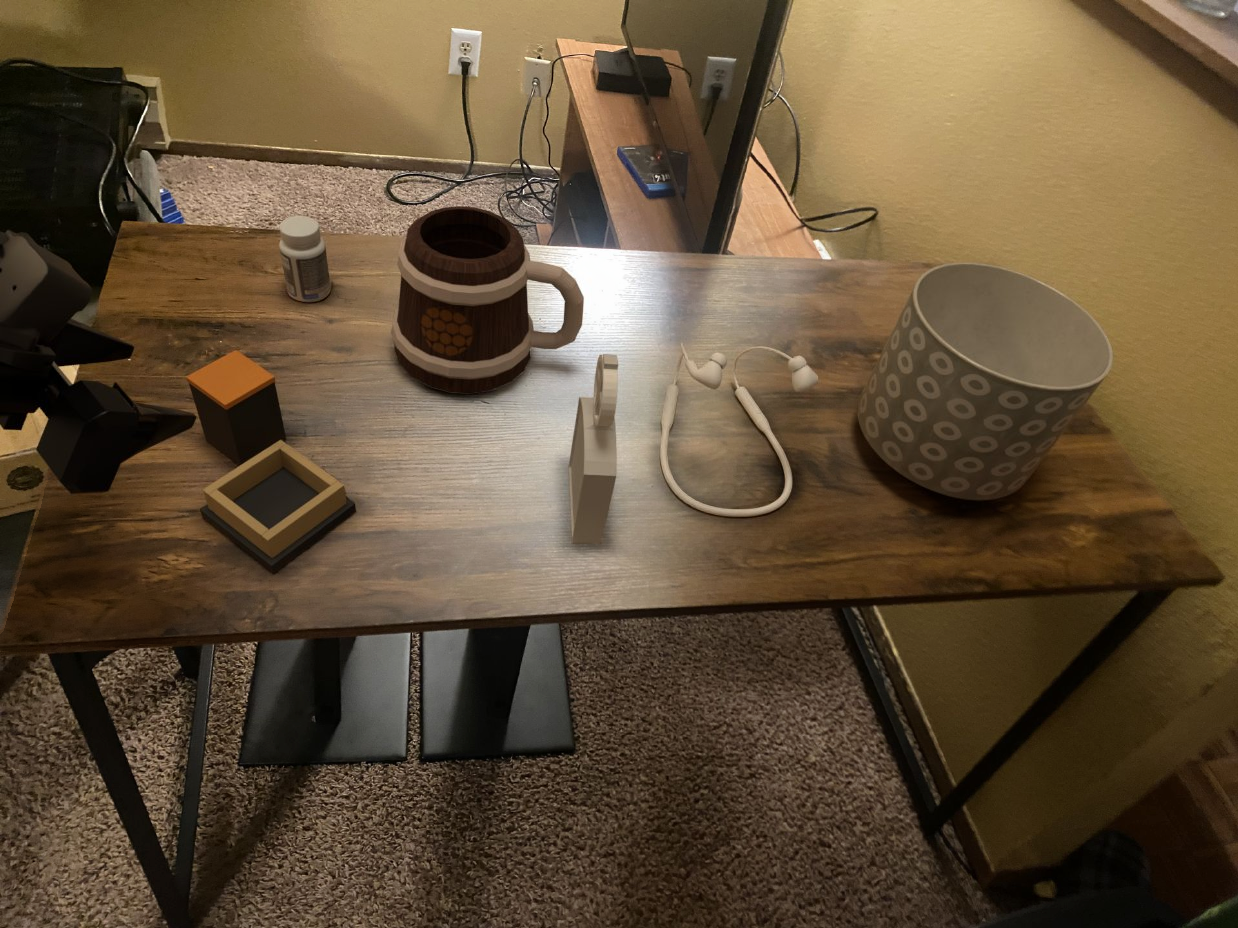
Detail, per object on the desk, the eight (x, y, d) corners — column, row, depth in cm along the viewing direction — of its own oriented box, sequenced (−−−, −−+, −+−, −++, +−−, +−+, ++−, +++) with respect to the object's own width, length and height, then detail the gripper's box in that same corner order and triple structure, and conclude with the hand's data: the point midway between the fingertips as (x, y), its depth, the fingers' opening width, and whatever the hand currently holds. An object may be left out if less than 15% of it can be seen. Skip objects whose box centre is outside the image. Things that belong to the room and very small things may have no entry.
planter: (820, 397, 95) (880, 262, 82) (962, 388, 100) (1039, 260, 87) (894, 527, 83) (978, 394, 70) (1051, 510, 88) (1156, 383, 75)
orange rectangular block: (242, 468, 76) (224, 405, 70) (205, 441, 78) (185, 376, 72) (287, 439, 79) (274, 376, 73) (251, 413, 81) (235, 349, 75)
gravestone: (596, 468, 83) (623, 323, 70) (601, 544, 76) (632, 400, 63) (568, 466, 82) (590, 321, 69) (571, 543, 76) (596, 398, 63)
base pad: (273, 574, 69) (266, 547, 66) (202, 517, 72) (192, 489, 69) (356, 511, 75) (353, 484, 72) (287, 461, 77) (281, 433, 75)
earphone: (765, 347, 94) (834, 346, 76) (756, 493, 96) (822, 525, 78) (647, 342, 91) (690, 340, 73) (640, 492, 93) (681, 525, 76)
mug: (375, 387, 86) (365, 263, 75) (411, 300, 96) (407, 181, 85) (567, 418, 87) (584, 300, 76) (582, 329, 97) (599, 215, 86)
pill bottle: (336, 282, 96) (329, 218, 90) (322, 306, 93) (313, 241, 87) (296, 275, 96) (285, 210, 90) (280, 299, 93) (268, 233, 87)
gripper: (17, 328, 42) (275, 362, 56) (-119, 160, 49) (140, 227, 63) (-50, 503, 45) (211, 494, 59) (-169, 321, 52) (88, 351, 66)
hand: (161, 385), depth 62 cm, fingers open, 9 cm apart
